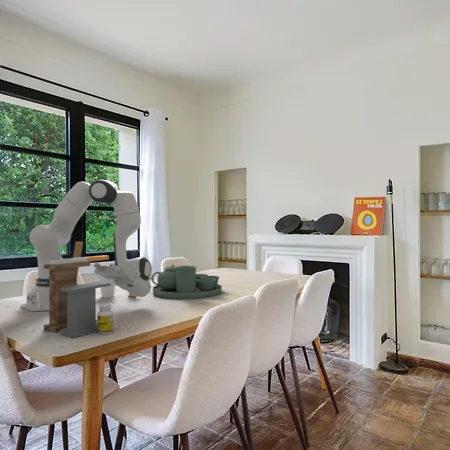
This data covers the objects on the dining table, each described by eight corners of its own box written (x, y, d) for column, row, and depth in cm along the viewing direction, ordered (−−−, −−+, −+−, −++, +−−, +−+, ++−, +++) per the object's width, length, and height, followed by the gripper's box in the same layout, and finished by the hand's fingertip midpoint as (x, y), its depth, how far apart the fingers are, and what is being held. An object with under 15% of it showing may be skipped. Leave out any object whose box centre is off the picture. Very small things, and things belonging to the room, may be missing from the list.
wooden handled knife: (49, 264, 131) (49, 260, 131) (103, 259, 152) (103, 255, 152) (54, 264, 129) (54, 260, 129) (108, 259, 151) (108, 255, 151)
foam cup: (117, 297, 192) (117, 273, 192) (98, 298, 189) (98, 274, 189) (116, 294, 201) (116, 271, 201) (98, 295, 198) (98, 272, 198)
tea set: (235, 294, 201) (235, 264, 201) (171, 303, 179) (171, 270, 179) (199, 285, 234) (199, 259, 234) (141, 291, 211) (141, 263, 211)
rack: (60, 335, 124) (60, 287, 124) (97, 324, 138) (97, 281, 138) (73, 338, 121) (73, 289, 121) (110, 326, 135) (110, 283, 135)
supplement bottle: (94, 334, 126) (93, 306, 126) (104, 329, 131) (104, 303, 131) (106, 335, 124) (106, 307, 124) (116, 331, 129) (116, 304, 129)
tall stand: (43, 330, 131) (43, 264, 131) (78, 321, 144) (78, 261, 144) (55, 333, 127) (55, 265, 127) (90, 323, 140) (90, 261, 140)
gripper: (110, 270, 167) (89, 257, 157) (143, 272, 157) (123, 259, 146) (105, 282, 164) (83, 270, 154) (138, 286, 154) (117, 273, 144)
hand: (102, 264), depth 150 cm, fingers open, 8 cm apart
